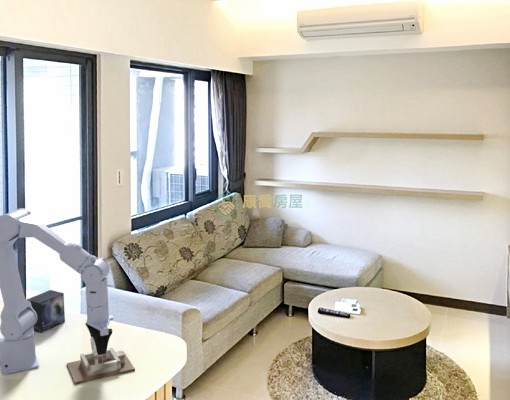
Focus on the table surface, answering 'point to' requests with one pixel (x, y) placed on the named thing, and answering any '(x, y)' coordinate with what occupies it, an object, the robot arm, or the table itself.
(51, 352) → the table surface
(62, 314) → the small box
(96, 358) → the milkshake
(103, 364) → the pocket plate
